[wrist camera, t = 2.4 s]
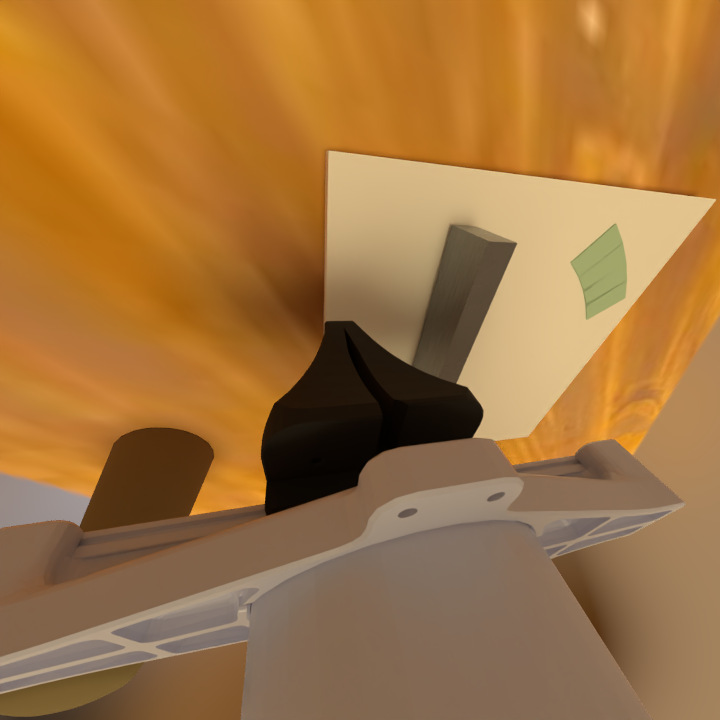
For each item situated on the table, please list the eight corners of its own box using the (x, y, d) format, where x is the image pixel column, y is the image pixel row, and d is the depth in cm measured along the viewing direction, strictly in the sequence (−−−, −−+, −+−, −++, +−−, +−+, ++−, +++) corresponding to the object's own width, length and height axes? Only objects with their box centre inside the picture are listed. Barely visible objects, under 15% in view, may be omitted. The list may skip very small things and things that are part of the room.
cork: (180, 417, 17) (62, 690, 8) (229, 463, 20) (185, 680, 12) (87, 444, 16) (-130, 751, 8) (155, 485, 20) (56, 721, 12)
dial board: (521, 428, 26) (528, 437, 25) (322, 452, 22) (323, 464, 21) (693, 197, 14) (718, 199, 13) (325, 150, 10) (328, 150, 9)
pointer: (419, 429, 21) (437, 466, 18) (381, 433, 20) (393, 473, 18) (495, 227, 12) (548, 247, 9) (430, 223, 11) (469, 242, 9)
